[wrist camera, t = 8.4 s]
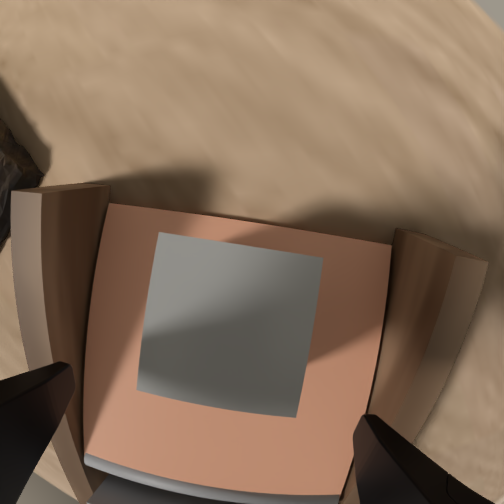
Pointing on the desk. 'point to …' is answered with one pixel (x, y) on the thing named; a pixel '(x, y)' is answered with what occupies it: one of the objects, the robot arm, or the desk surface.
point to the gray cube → (228, 325)
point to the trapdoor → (216, 419)
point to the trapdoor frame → (80, 291)
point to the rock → (13, 175)
